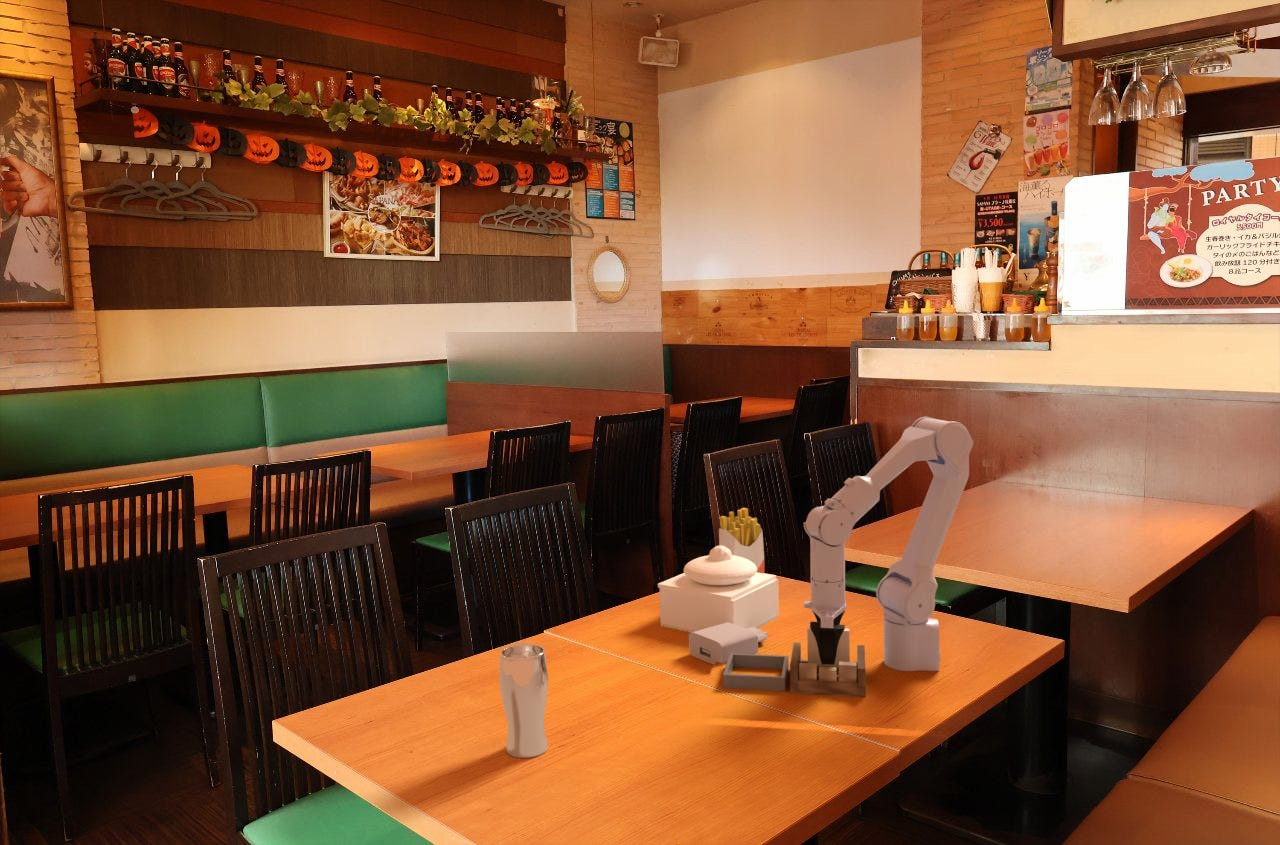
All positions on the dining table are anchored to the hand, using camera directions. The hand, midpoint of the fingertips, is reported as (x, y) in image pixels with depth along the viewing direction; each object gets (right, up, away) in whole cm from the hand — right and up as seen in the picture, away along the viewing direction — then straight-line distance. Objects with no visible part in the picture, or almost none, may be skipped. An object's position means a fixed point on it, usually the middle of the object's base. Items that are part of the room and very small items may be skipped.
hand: (828, 655), depth 166 cm
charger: (-14, -3, +15) cm, 21 cm away
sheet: (0, -3, 0) cm, 3 cm away
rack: (0, -4, -2) cm, 5 cm away
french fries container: (-9, +2, +54) cm, 55 cm away
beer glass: (-49, -9, -22) cm, 54 cm away
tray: (-12, -5, 0) cm, 13 cm away
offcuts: (-1, -4, -6) cm, 7 cm away
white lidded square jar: (-16, -1, +33) cm, 37 cm away
